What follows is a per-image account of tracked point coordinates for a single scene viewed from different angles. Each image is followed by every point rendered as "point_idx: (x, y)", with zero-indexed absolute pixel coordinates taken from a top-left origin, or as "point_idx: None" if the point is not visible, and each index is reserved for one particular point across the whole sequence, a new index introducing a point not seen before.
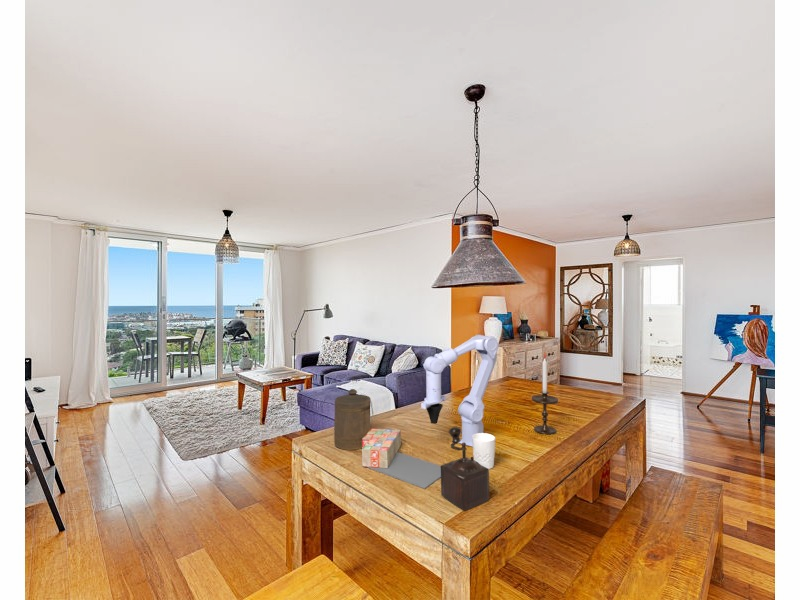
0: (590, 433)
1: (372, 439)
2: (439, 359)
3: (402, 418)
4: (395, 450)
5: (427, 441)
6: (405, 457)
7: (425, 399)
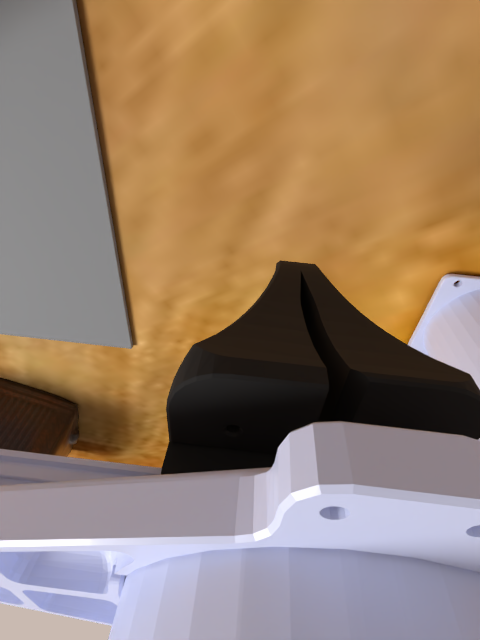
0: None
1: None
2: None
3: None
4: None
5: (423, 59)
6: (48, 90)
7: (276, 493)
